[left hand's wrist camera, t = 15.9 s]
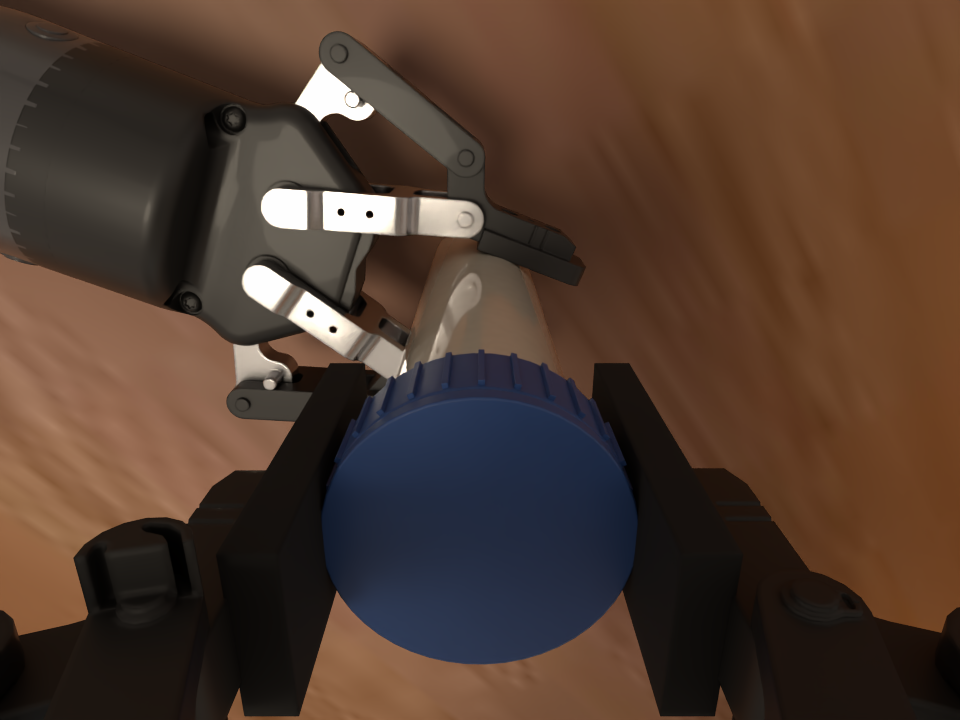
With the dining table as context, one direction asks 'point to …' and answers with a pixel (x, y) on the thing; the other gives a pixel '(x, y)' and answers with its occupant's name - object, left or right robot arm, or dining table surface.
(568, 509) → the lid
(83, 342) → the dining table surface
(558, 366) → the cream plastic cylinder
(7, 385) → the dining table surface
